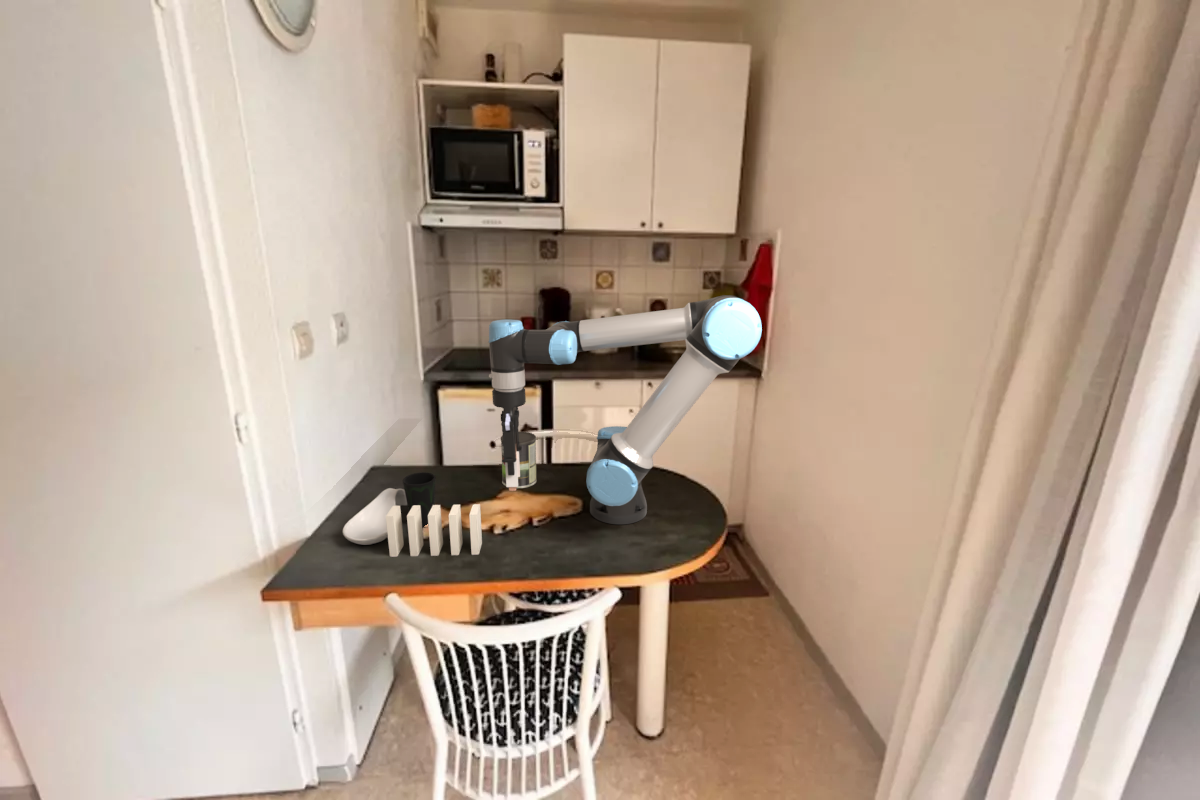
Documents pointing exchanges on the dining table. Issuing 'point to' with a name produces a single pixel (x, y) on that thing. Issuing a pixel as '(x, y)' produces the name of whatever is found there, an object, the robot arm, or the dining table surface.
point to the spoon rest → (373, 518)
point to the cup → (420, 492)
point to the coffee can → (524, 460)
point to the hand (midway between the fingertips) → (513, 481)
